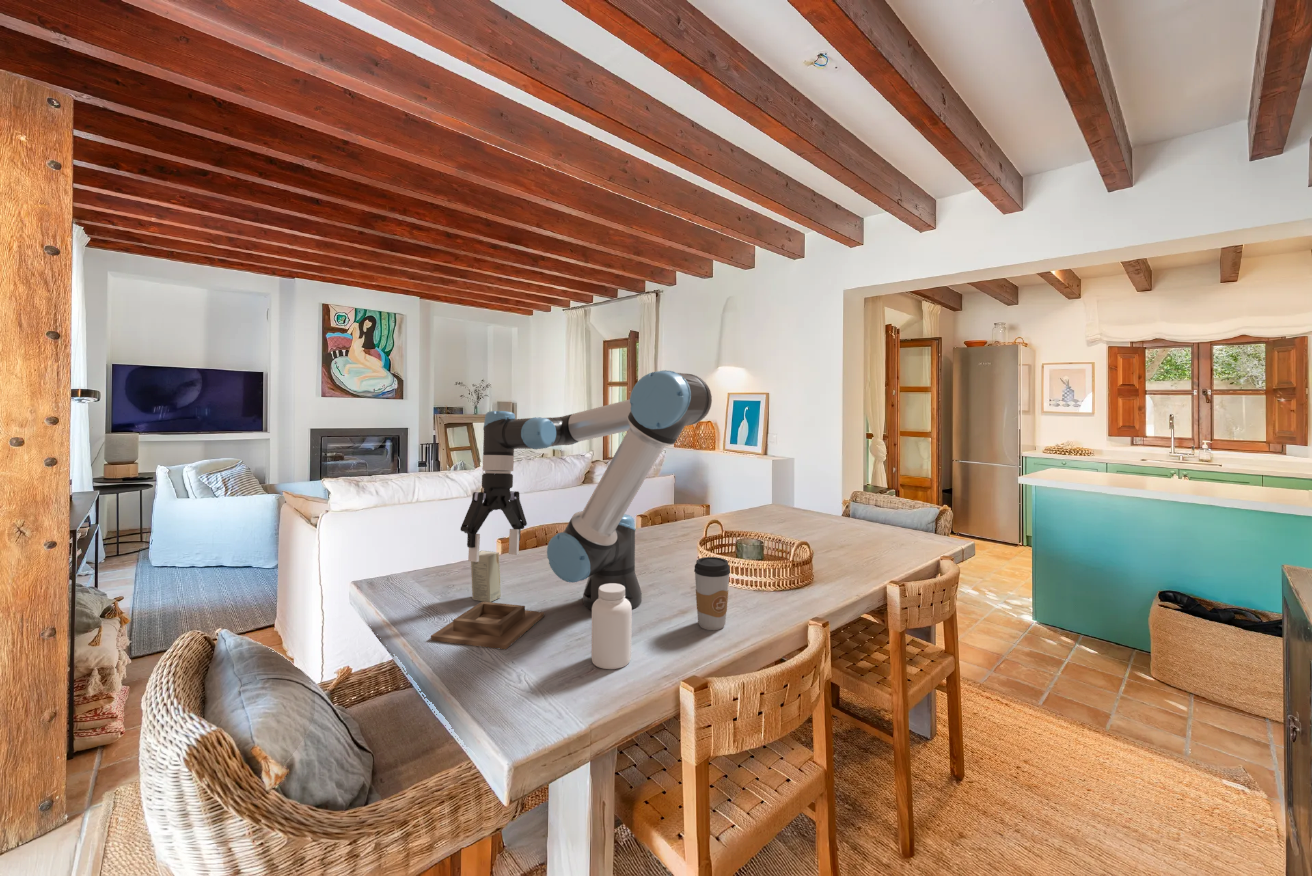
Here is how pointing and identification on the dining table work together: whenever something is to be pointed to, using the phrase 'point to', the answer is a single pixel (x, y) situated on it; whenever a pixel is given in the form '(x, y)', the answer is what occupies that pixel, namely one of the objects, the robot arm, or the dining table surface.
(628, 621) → the pill bottle
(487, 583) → the skincare box
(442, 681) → the dining table surface
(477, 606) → the socket holder
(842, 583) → the dining table surface
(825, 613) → the dining table surface
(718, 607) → the coffee cup
